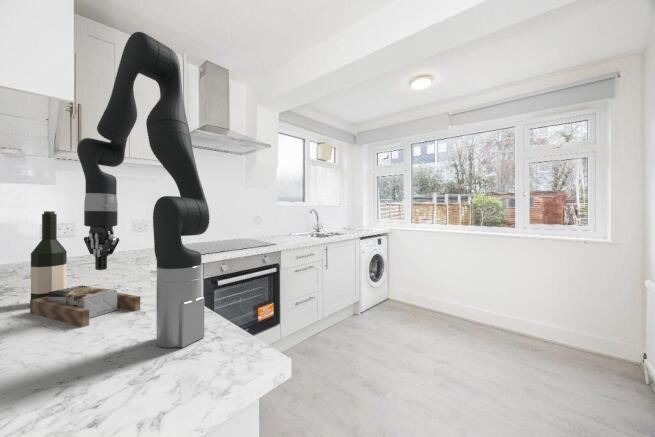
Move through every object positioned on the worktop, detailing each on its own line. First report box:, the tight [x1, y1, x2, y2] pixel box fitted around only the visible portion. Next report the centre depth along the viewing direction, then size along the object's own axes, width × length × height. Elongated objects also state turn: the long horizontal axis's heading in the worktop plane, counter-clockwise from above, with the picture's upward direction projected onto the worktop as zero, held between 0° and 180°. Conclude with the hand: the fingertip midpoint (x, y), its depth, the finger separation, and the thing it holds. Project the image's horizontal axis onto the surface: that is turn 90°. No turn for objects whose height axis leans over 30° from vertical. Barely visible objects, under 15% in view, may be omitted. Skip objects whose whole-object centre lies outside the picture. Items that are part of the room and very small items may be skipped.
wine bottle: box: [30, 210, 68, 300], centre depth 91 cm, size 8×8×30 cm
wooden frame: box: [29, 292, 141, 328], centre depth 84 cm, size 26×15×4 cm, turn 68°
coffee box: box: [48, 285, 118, 319], centre depth 83 cm, size 9×6×16 cm
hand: (101, 269), depth 81 cm, fingers closed
